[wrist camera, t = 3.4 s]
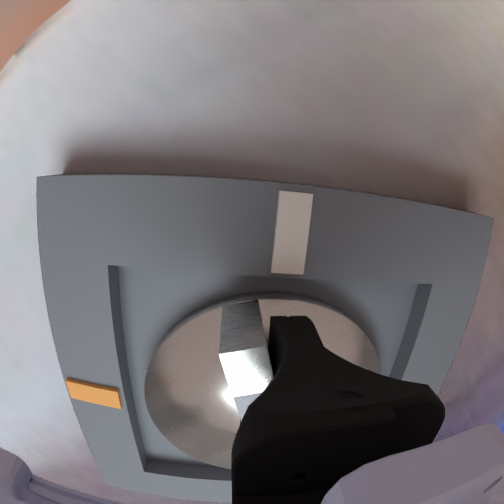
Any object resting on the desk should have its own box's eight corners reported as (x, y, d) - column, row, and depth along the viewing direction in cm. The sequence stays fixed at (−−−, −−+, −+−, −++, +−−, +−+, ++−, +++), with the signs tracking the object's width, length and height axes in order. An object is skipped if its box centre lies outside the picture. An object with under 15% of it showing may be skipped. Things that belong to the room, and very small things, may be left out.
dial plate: (373, 468, 19) (382, 488, 17) (113, 464, 17) (106, 487, 15) (467, 211, 14) (496, 219, 11) (62, 174, 12) (33, 177, 10)
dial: (369, 435, 16) (392, 483, 12) (189, 468, 16) (184, 520, 12) (372, 265, 13) (423, 304, 9) (113, 316, 13) (74, 369, 9)
